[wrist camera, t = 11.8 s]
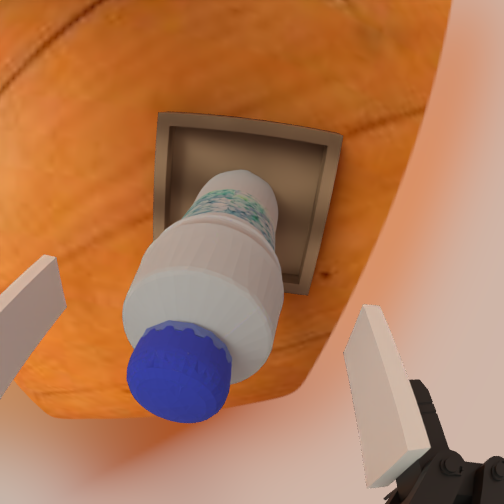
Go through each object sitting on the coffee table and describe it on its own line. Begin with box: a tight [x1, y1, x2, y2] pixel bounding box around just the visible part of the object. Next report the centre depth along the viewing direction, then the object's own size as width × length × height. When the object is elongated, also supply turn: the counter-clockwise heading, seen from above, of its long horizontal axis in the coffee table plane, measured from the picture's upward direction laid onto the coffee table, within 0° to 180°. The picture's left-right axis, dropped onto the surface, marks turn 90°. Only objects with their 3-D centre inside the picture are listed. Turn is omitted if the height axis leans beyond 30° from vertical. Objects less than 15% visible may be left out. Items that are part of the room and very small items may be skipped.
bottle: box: [122, 169, 284, 423], centre depth 17 cm, size 7×7×20 cm
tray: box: [153, 112, 343, 295], centre depth 26 cm, size 14×14×2 cm
